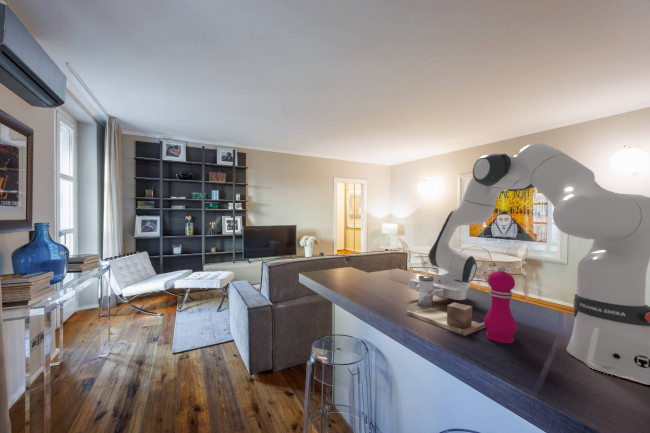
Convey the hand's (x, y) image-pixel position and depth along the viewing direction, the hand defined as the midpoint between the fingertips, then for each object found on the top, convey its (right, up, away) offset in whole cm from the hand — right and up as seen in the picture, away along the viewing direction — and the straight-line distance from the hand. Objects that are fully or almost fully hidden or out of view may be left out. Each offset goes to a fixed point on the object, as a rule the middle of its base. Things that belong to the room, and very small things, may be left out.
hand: (424, 291), depth 99 cm
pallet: (+1, -6, -15) cm, 16 cm away
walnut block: (+2, -5, -21) cm, 21 cm away
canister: (0, -6, 0) cm, 6 cm away
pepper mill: (+10, -6, -27) cm, 29 cm away
